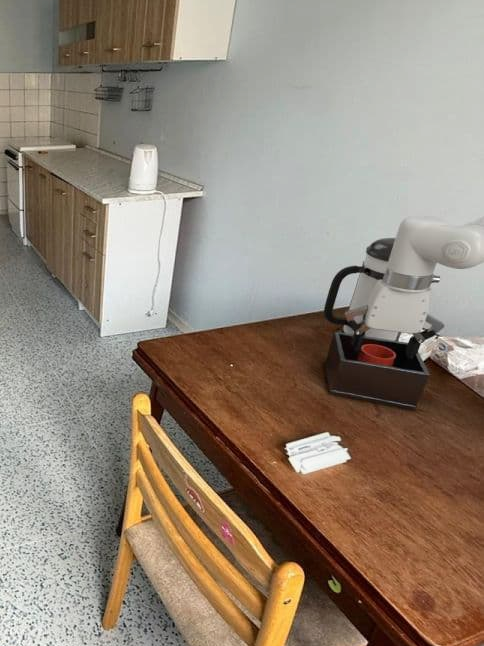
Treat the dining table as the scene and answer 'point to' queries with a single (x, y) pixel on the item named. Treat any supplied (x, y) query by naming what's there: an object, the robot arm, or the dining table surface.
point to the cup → (376, 355)
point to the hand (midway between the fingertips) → (381, 352)
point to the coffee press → (363, 287)
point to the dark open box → (375, 373)
